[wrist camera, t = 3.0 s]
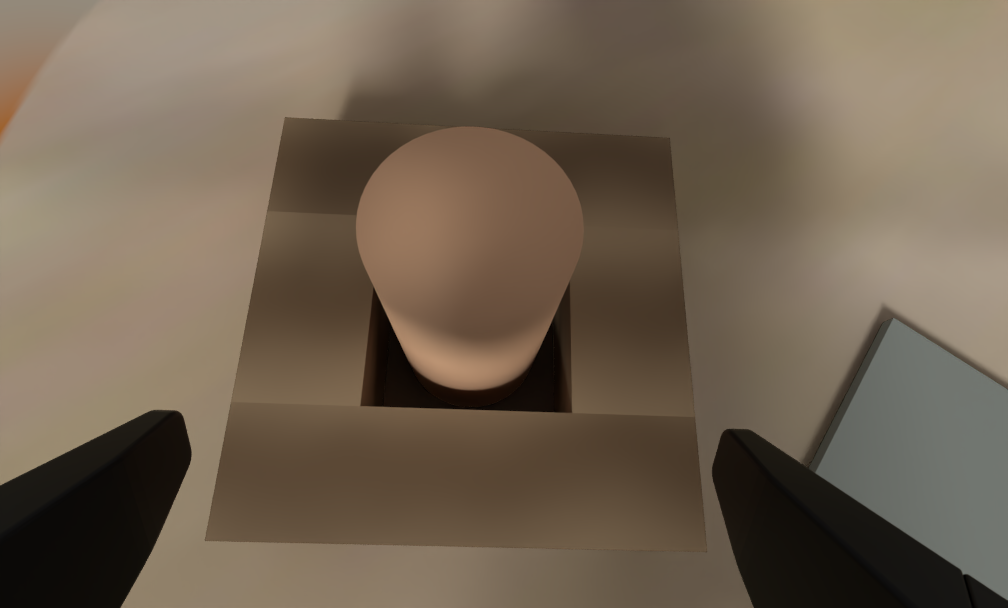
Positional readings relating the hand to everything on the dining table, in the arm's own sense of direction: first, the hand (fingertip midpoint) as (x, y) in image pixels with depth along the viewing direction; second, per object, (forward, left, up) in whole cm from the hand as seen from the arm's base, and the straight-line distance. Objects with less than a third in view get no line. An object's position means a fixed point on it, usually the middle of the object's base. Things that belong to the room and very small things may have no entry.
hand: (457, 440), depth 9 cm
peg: (+4, -3, -11) cm, 12 cm away
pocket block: (+4, -3, -11) cm, 12 cm away
